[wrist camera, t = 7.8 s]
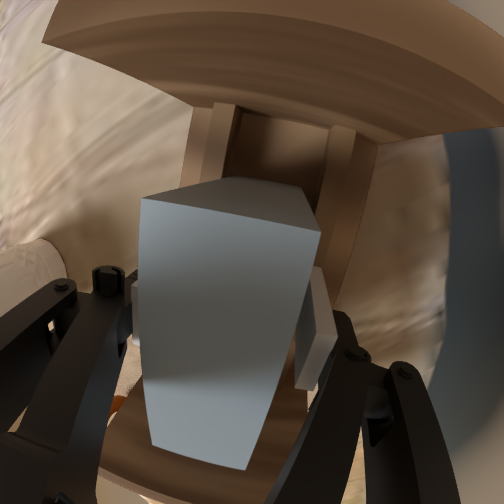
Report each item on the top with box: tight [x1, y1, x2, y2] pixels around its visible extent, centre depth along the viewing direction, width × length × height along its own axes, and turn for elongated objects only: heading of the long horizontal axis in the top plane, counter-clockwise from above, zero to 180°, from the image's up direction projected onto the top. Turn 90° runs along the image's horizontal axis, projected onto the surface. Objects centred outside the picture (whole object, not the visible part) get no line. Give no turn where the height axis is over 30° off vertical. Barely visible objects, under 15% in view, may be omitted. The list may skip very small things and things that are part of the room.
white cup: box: [0, 238, 68, 317], centre depth 19 cm, size 8×8×10 cm
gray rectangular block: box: [138, 175, 321, 470], centre depth 13 cm, size 10×4×12 cm, turn 170°
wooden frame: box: [41, 0, 504, 504], centre depth 13 cm, size 22×12×14 cm, turn 169°
